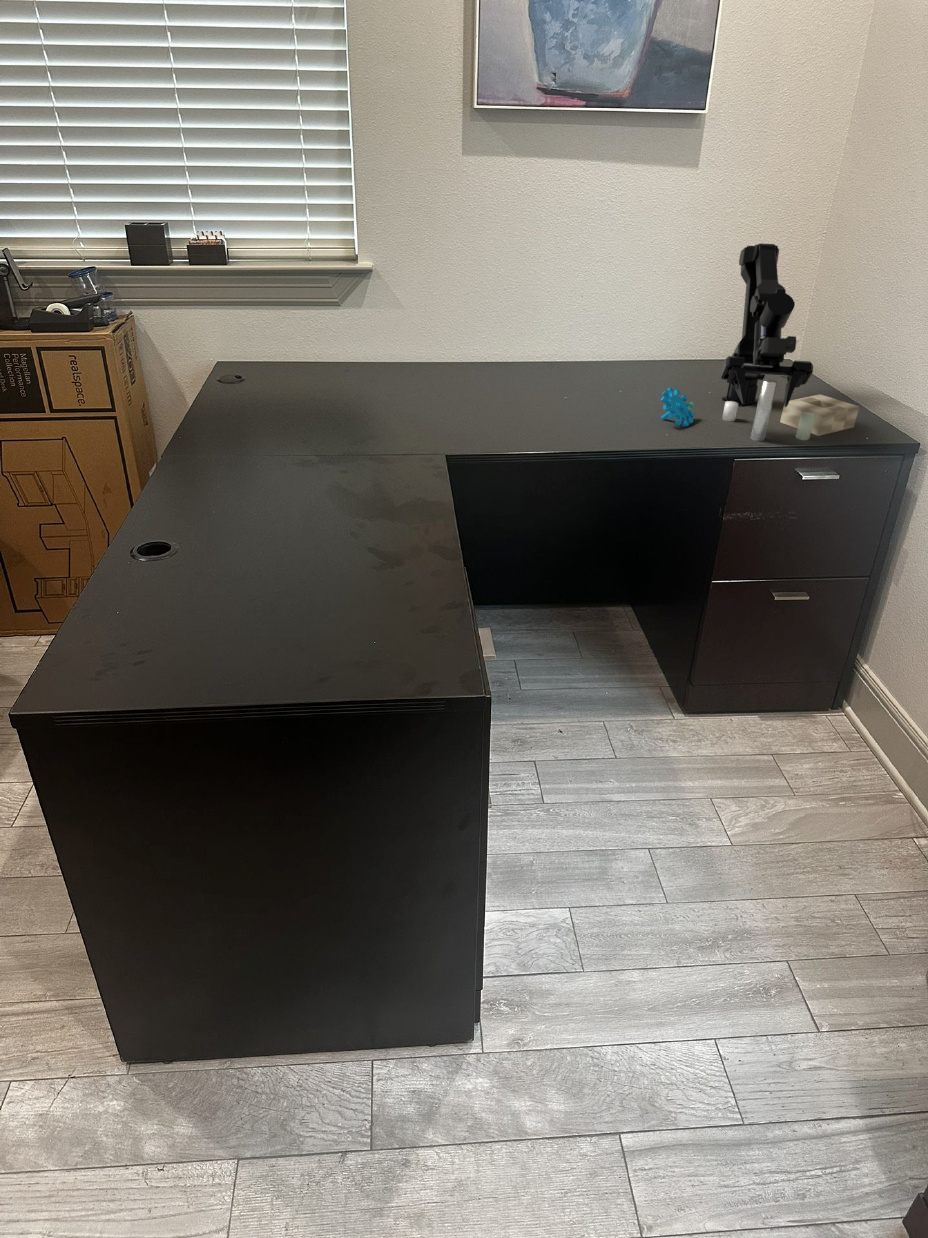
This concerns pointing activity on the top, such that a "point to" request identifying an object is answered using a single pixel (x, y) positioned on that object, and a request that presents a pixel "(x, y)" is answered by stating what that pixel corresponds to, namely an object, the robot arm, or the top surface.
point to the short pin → (730, 411)
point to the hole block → (821, 414)
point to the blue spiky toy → (677, 407)
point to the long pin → (763, 410)
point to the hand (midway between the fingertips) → (764, 404)
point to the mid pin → (805, 426)
